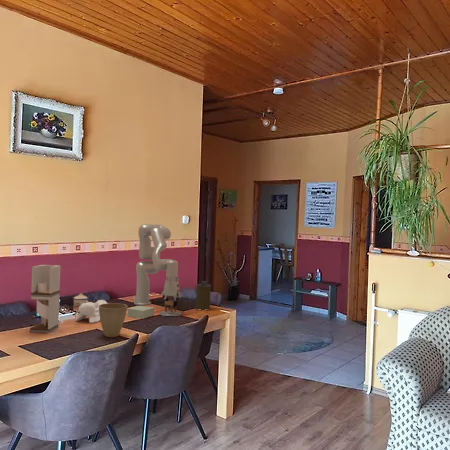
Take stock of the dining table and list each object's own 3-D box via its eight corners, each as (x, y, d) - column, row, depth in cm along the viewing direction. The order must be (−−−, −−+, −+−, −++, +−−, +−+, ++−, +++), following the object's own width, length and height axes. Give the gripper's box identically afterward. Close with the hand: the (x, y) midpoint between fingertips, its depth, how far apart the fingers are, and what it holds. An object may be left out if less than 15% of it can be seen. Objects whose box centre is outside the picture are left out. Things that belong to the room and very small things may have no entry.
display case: (39, 326, 240) (41, 264, 240) (58, 327, 240) (60, 265, 239) (29, 332, 229) (32, 266, 228) (49, 332, 228) (51, 267, 228)
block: (127, 316, 274) (127, 308, 274) (138, 313, 285) (138, 305, 285) (143, 318, 269) (143, 310, 269) (153, 315, 280) (154, 307, 280)
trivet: (154, 315, 280) (154, 313, 280) (166, 311, 294) (166, 309, 294) (174, 318, 274) (174, 316, 274) (185, 313, 288) (185, 312, 288)
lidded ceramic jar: (69, 311, 282) (70, 293, 282) (79, 309, 290) (80, 292, 290) (83, 313, 277) (84, 295, 277) (93, 311, 285) (94, 293, 285)
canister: (211, 308, 311) (212, 280, 310) (209, 311, 300) (210, 282, 300) (196, 307, 312) (197, 280, 312) (193, 310, 301) (195, 281, 301)
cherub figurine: (112, 301, 269) (92, 303, 250) (110, 321, 268) (90, 324, 249) (95, 298, 273) (74, 300, 255) (92, 318, 272) (71, 321, 254)
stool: (169, 310, 288) (169, 299, 288) (176, 311, 286) (177, 300, 286) (164, 311, 283) (164, 301, 283) (172, 312, 280) (172, 302, 280)
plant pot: (99, 340, 218) (100, 309, 218) (96, 332, 232) (97, 303, 232) (128, 338, 224) (129, 307, 224) (123, 330, 238) (124, 302, 238)
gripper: (185, 279, 284) (184, 306, 284) (163, 277, 291) (162, 303, 291) (180, 280, 277) (179, 308, 277) (157, 278, 284) (156, 305, 284)
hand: (170, 305), depth 284 cm, fingers closed on stool, 6 cm apart
